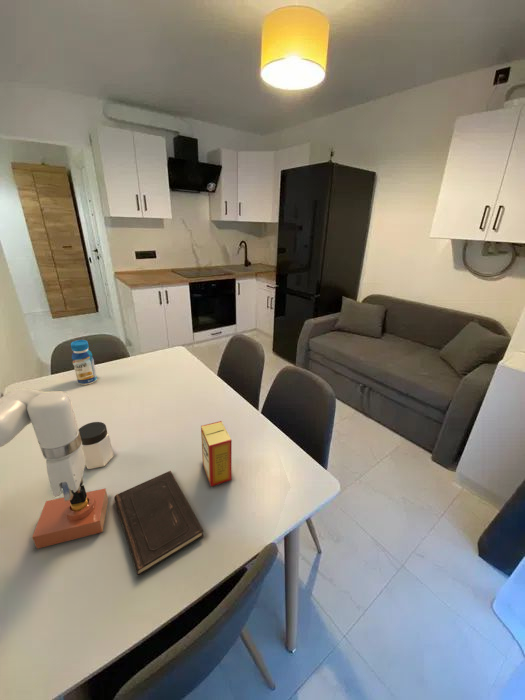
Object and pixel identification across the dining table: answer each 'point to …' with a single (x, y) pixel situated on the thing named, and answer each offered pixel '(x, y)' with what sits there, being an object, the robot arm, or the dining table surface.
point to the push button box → (70, 520)
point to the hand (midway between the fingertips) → (79, 500)
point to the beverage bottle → (83, 362)
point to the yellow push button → (79, 505)
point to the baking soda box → (216, 452)
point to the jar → (95, 444)
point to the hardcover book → (156, 521)
